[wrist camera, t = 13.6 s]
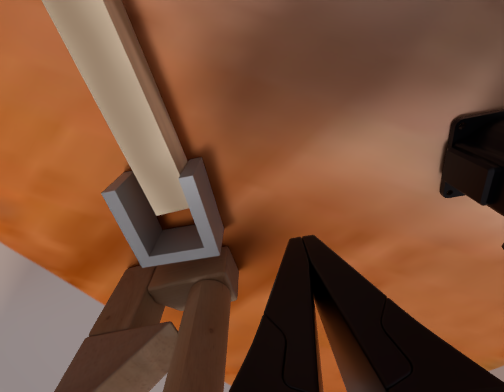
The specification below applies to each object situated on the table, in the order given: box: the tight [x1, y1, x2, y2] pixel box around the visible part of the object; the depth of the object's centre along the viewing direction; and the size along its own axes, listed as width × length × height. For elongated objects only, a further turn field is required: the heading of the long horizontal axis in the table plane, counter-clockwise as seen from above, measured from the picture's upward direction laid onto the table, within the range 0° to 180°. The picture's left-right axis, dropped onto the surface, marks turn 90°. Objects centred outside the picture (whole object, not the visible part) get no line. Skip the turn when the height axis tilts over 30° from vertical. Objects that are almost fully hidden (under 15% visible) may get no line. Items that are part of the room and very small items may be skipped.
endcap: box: [101, 157, 224, 268], centre depth 20 cm, size 6×7×4 cm
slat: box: [42, 0, 189, 216], centre depth 15 cm, size 3×22×3 cm, turn 15°
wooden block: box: [54, 246, 239, 392], centre depth 18 cm, size 4×11×18 cm, turn 106°
